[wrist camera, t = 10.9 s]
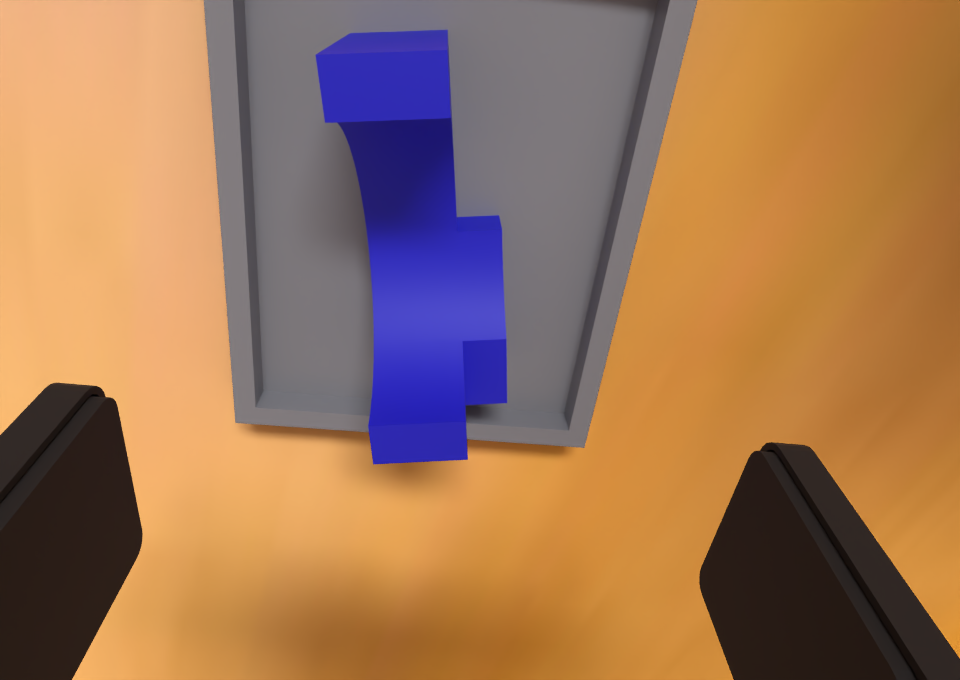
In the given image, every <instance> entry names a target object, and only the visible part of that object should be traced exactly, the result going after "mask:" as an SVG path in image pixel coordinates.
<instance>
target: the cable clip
mask: <svg viewBox="0 0 960 680" xmlns="http://www.w3.org/2000/svg"><path fill="white" fill-rule="evenodd" d="M315 56H316V63H317V70H318V77H319V84H320V91H321V98H322V105H323V112H324V119H325V123H338V124H339V126H340V127H341V129H342V130H343V132H344V134H345V137H346V139H347V142H348V144H349V147H350V150H351V153H352V157H353V160H354V164H355V168H356V172H357V177H358V182H359V186H360V192H361V197H362V203H363V209H364V215H365V223H366V230H367V238H368V247H369V257H370V268H371V281H372V298H373V324H374V363H373V386H372V399H371V409H370V417H369V424H368V429H369V436H370V443H371V450H372V457H373V464H389V463H408V462H428V461H448V460H468V455H467V429H466V405H478V404H499V403H507V339H506V323H505V304H504V281H503V249H502V227H501V222H500V217H499V215H495V216H471V217H457V211H456V190H455V170H454V149H453V129H452V108H451V87H450V67H449V46H448V30H425V31H397V32H369V33H350V34H348V35H346V36H345V37H343V38H341V39H340V40H338V41H337V42H335V43H333V44H332V45H330V46H329V47H327V48H325V49H324V50H322V51H321V52H319V53H317V54H316V55H315Z"/></svg>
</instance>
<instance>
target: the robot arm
mask: <svg viewBox="0 0 960 680" xmlns="http://www.w3.org/2000/svg"><path fill="white" fill-rule="evenodd" d="M141 544H142V527H141V522H140V517H139V512H138V507H137V502H136V497H135V492H134V487H133V482H132V477H131V472H130V467H129V462H128V457H127V452H126V447H125V442H124V437H123V432H122V427H121V422H120V417H119V412H118V407H117V404H116V401H115V400H114V399H113V398H108V397H105V394H104V392H103V390H102V389H101V388H100V387H97V386H89V385H77V384H65V383H53V384H50V385H49V386H48V387H46V388H45V389H44V390H43V391H42V392H41V393H40V394H39V395H38V396H37V397H36V398H35V400H34V401H33V402H32V403H31V404H30V405H29V406H28V407H27V408H26V409H25V410H24V411H23V412H22V413H21V414H20V415H19V416H18V417H17V418H16V419H15V421H14V422H13V423H12V424H11V425H10V426H9V427H8V428H7V429H6V430H5V431H4V432H3V433H2V434H1V435H0V680H72V678H73V676H74V675H75V673H76V671H77V669H78V667H79V665H80V663H81V662H82V660H83V658H84V656H85V654H86V652H87V650H88V648H89V647H90V645H91V643H92V641H93V639H94V637H95V635H96V634H97V632H98V630H99V628H100V626H101V624H102V622H103V620H104V619H105V617H106V615H107V613H108V611H109V609H110V607H111V605H112V604H113V602H114V600H115V598H116V596H117V594H118V592H119V591H120V589H121V587H122V585H123V583H124V581H125V579H126V577H127V576H128V574H129V572H130V570H131V568H132V566H133V564H134V562H135V561H136V559H137V556H138V554H139V551H140V548H141ZM699 578H700V589H701V593H702V596H703V598H704V601H705V604H706V606H707V609H708V612H709V614H710V617H711V620H712V623H713V625H714V628H715V631H716V633H717V636H718V639H719V641H720V644H721V647H722V649H723V652H724V655H725V657H726V660H727V663H728V665H729V668H730V671H731V673H732V676H733V679H734V680H960V658H959V657H958V656H957V654H956V653H955V651H954V650H953V649H952V647H951V646H950V644H949V643H948V641H947V640H946V639H945V637H944V636H943V634H942V633H941V631H940V630H939V629H938V627H937V626H936V624H935V623H934V622H933V620H932V619H931V617H930V616H929V614H928V613H927V612H926V610H925V609H924V607H923V606H922V604H921V603H920V602H919V600H918V599H917V597H916V596H915V595H914V593H913V592H912V590H911V589H910V587H909V586H908V585H907V583H906V582H905V580H904V579H903V577H902V576H901V575H900V573H899V572H898V570H897V569H896V568H895V566H894V565H893V563H892V562H891V560H890V559H889V558H888V556H887V555H886V553H885V552H884V550H883V549H882V548H881V546H880V545H879V543H878V542H877V541H876V539H875V538H874V536H873V535H872V533H871V532H870V531H869V529H868V528H867V526H866V525H865V523H864V522H863V521H862V519H861V518H860V516H859V515H858V513H857V512H856V511H855V509H854V508H853V506H852V505H851V504H850V502H849V501H848V499H847V498H846V496H845V495H844V494H843V492H842V491H841V489H840V488H839V486H838V485H837V484H836V482H835V481H834V479H833V478H832V477H831V475H830V474H829V472H828V471H827V469H826V468H825V467H824V465H823V464H822V462H821V461H820V459H819V458H818V457H817V455H816V454H815V452H814V451H813V450H812V449H811V448H810V447H808V446H805V445H796V444H784V443H772V442H771V443H766V444H765V445H764V446H763V447H762V448H761V450H760V451H754V452H753V453H752V454H751V455H750V457H749V459H748V461H747V464H746V466H745V468H744V470H743V473H742V475H741V477H740V480H739V482H738V484H737V486H736V489H735V491H734V493H733V496H732V498H731V500H730V503H729V505H728V507H727V509H726V512H725V514H724V516H723V519H722V521H721V523H720V526H719V528H718V530H717V532H716V535H715V537H714V539H713V542H712V544H711V546H710V548H709V551H708V553H707V555H706V558H705V560H704V562H703V565H702V567H701V570H700V577H699Z"/></svg>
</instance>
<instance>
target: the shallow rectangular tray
mask: <svg viewBox="0 0 960 680" xmlns="http://www.w3.org/2000/svg"><path fill="white" fill-rule="evenodd" d="M696 4H697V0H204V9H205V22H206V35H207V49H208V62H209V75H210V89H211V102H212V115H213V129H214V142H215V155H216V169H217V182H218V195H219V209H220V222H221V236H222V249H223V262H224V276H225V289H226V302H227V316H228V329H229V342H230V356H231V369H232V382H233V396H234V409H235V422H236V423H246V424H260V425H274V426H288V427H302V428H316V429H330V430H344V431H358V432H369V429H368V424H369V417H370V409H371V399H372V386H373V363H374V324H373V298H372V281H371V268H370V257H369V247H368V238H367V230H366V223H365V215H364V209H363V203H362V197H361V192H360V186H359V182H358V177H357V172H356V168H355V164H354V160H353V157H352V153H351V150H350V147H349V144H348V142H347V139H346V137H345V134H344V132H343V130H342V129H341V127H340V126H339V124H338V123H325V119H324V112H323V105H322V98H321V91H320V84H319V77H318V70H317V63H316V56H315V55H316V54H317V53H319V52H321V51H322V50H324V49H325V48H327V47H329V46H330V45H332V44H333V43H335V42H337V41H338V40H340V39H341V38H343V37H345V36H346V35H348V34H350V33H369V32H397V31H425V30H448V46H449V67H450V87H451V108H452V129H453V149H454V170H455V190H456V211H457V217H471V216H495V215H499V217H500V222H501V227H502V249H503V281H504V304H505V323H506V339H507V403H499V404H478V405H466V429H467V439H470V440H484V441H498V442H512V443H526V444H540V445H554V446H568V447H582V448H584V447H585V443H586V439H587V435H588V431H589V427H590V423H591V419H592V415H593V411H594V407H595V403H596V399H597V395H598V391H599V387H600V383H601V380H602V376H603V372H604V368H605V364H606V360H607V356H608V352H609V348H610V344H611V340H612V336H613V332H614V328H615V324H616V320H617V316H618V312H619V308H620V304H621V300H622V297H623V293H624V289H625V285H626V281H627V277H628V273H629V269H630V265H631V261H632V257H633V253H634V249H635V245H636V241H637V237H638V233H639V229H640V225H641V221H642V218H643V214H644V210H645V206H646V202H647V198H648V194H649V190H650V186H651V182H652V178H653V174H654V170H655V166H656V162H657V158H658V154H659V150H660V146H661V142H662V139H663V135H664V131H665V127H666V123H667V119H668V115H669V111H670V107H671V103H672V99H673V95H674V91H675V87H676V83H677V79H678V75H679V71H680V67H681V63H682V59H683V56H684V52H685V48H686V44H687V40H688V36H689V32H690V28H691V24H692V20H693V16H694V12H695V8H696Z"/></svg>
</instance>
